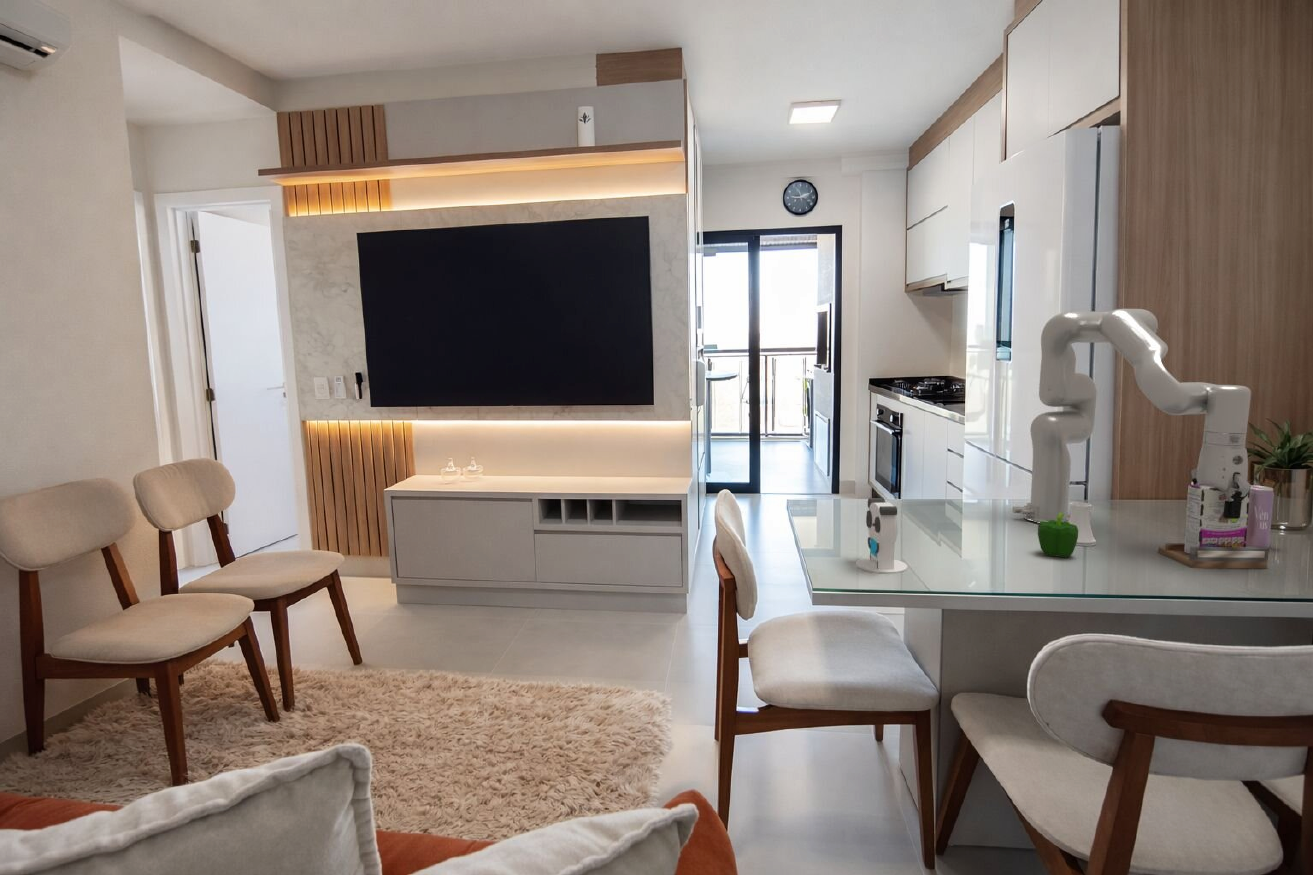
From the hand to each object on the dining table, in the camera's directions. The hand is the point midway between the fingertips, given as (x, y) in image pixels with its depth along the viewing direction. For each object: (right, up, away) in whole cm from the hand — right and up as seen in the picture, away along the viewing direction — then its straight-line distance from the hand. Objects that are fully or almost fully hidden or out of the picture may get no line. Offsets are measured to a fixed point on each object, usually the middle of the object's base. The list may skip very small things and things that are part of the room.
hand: (1215, 512), depth 161 cm
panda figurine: (-77, -13, +1) cm, 78 cm away
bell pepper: (-32, -11, +8) cm, 35 cm away
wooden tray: (0, -11, +2) cm, 11 cm away
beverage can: (+19, -10, +13) cm, 25 cm away
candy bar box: (0, -10, +1) cm, 10 cm away
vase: (-20, -10, +19) cm, 29 cm away
